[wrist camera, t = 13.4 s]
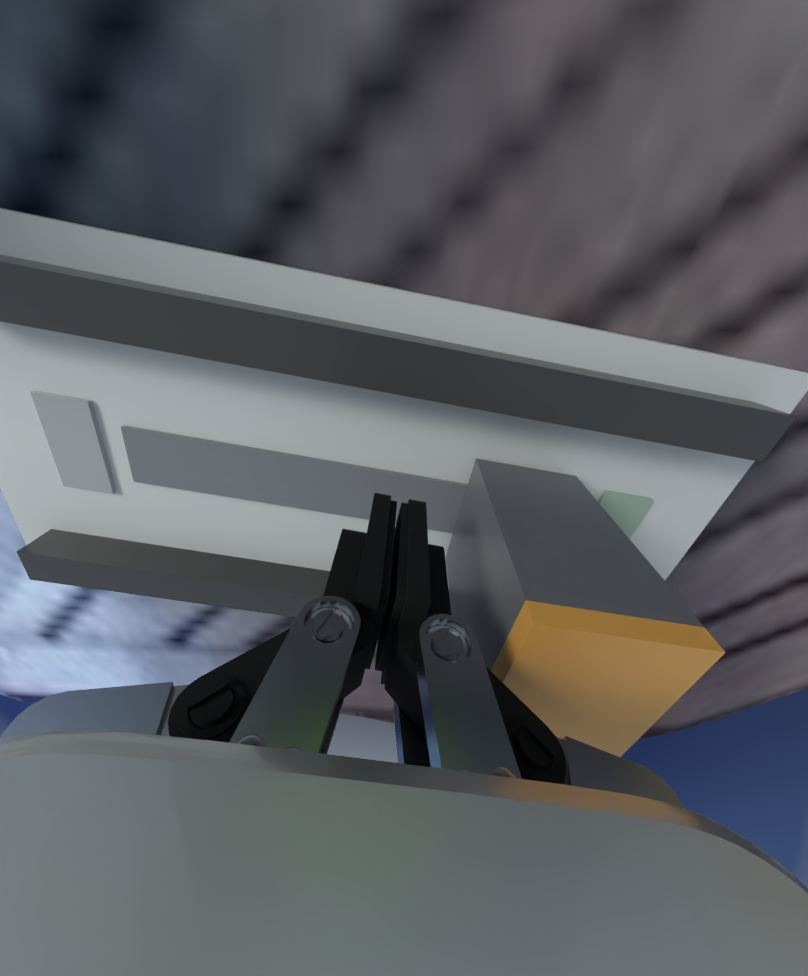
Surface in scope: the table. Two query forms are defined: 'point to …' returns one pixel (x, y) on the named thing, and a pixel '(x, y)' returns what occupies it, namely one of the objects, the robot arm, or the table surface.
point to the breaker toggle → (570, 607)
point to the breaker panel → (322, 415)
